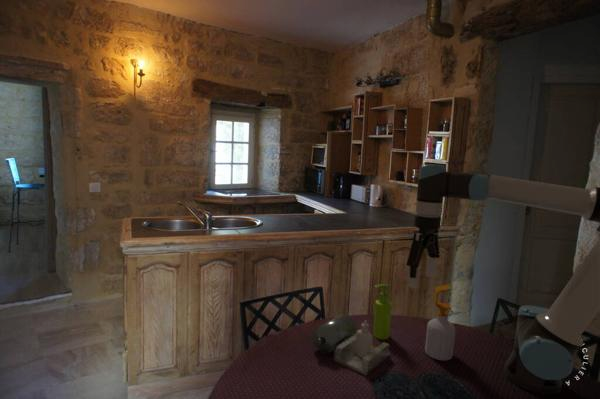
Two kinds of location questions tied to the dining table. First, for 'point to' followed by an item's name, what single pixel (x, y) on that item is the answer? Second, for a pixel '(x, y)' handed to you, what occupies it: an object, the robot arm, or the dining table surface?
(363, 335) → the eye dropper bottle
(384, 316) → the soap dispenser
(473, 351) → the dining table surface
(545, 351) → the robot arm
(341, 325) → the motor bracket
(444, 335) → the soap bottle
